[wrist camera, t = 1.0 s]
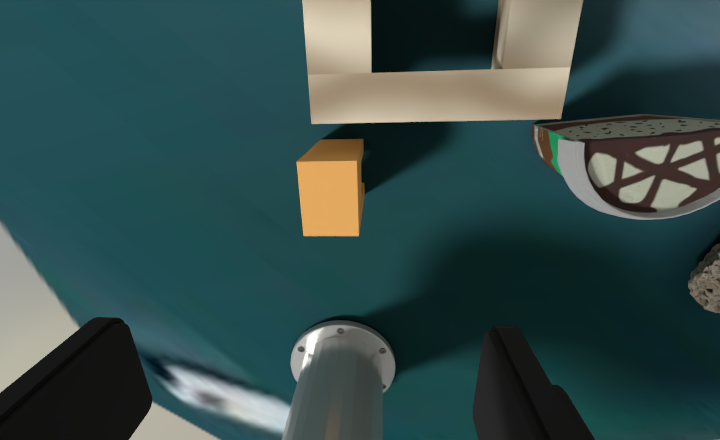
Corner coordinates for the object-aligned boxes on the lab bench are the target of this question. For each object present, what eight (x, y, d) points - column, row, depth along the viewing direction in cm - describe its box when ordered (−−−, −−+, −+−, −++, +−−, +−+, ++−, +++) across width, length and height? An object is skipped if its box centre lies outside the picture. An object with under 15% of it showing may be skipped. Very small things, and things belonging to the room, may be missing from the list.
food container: (510, 191, 32) (562, 233, 23) (514, 126, 30) (574, 143, 21) (646, 180, 31) (758, 220, 22) (661, 111, 29) (792, 124, 20)
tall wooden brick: (364, 194, 33) (358, 235, 24) (324, 194, 34) (303, 235, 24) (363, 138, 31) (356, 160, 22) (320, 139, 32) (296, 161, 22)
